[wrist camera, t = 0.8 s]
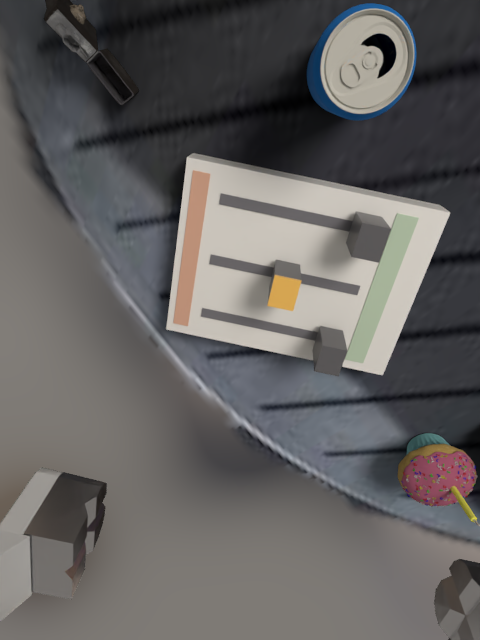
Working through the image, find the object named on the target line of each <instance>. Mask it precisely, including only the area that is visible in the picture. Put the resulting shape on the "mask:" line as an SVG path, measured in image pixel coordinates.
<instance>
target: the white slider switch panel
mask: <svg viewBox="0 0 480 640" xmlns="http://www.w3.org/2000/svg"><path fill="white" fill-rule="evenodd" d="M356 211H357V212H362V213H367V214H371V215H376V216H381V217H382V218H383V219H384V220H385V221H386V223H387V224H388V225H389V227H390V228H391V231H390V233H389V236H388V239H387V242H386V245H385V247H384V250H383V253H382V256H381V259H380V261H379V263H378V262H373V261H368V260H363V259H359V258H354V257H351V255H350V252H349V249H348V247H347V244H346V241H347V238H348V235H349V231H350V228H351V225H352V222H353V219H354V215H355V212H356ZM449 215H450V212H449V211H447V210H446V209H445V208H443V207H442V206H441V205H437V204H433V203H428V202H423V201H418V200H414V199H409V198H404V197H399V196H395V195H390V194H385V193H381V192H376V191H371V190H366V189H362V188H357V187H352V186H347V185H343V184H338V183H333V182H328V181H324V180H319V179H314V178H309V177H305V176H300V175H295V174H291V173H286V172H281V171H276V170H272V169H267V168H262V167H257V166H253V165H248V164H243V163H238V162H234V161H229V160H224V159H220V158H215V157H210V156H205V155H201V154H196V153H193V154H191V155H189V156H188V157H187V161H186V170H185V178H184V186H183V195H182V203H181V211H180V219H179V228H178V236H177V244H176V253H175V261H174V269H173V277H172V286H171V294H170V302H169V310H168V319H167V327H166V329H167V330H171V331H176V332H181V333H185V334H190V335H195V336H200V337H204V338H209V339H214V340H219V341H223V342H228V343H233V344H237V345H242V346H247V347H252V348H256V349H261V350H266V351H270V352H275V353H280V354H285V355H289V356H294V357H299V358H304V359H308V360H313V351H312V350H313V347H314V343H315V340H316V337H317V334H318V331H319V327H320V326H324V327H329V328H333V329H338V330H343V333H344V338H345V342H346V346H347V354H346V356H345V359H344V362H343V365H342V367H346V368H351V369H356V370H360V371H365V372H370V373H374V374H379V375H383V373H384V371H385V368H386V366H387V364H388V361H389V359H390V356H391V354H392V352H393V349H394V347H395V344H396V342H397V340H398V337H399V335H400V332H401V330H402V328H403V325H404V323H405V320H406V318H407V316H408V313H409V311H410V308H411V306H412V304H413V301H414V299H415V296H416V294H417V292H418V289H419V287H420V284H421V282H422V280H423V277H424V275H425V272H426V270H427V268H428V265H429V263H430V260H431V258H432V256H433V253H434V251H435V248H436V246H437V244H438V241H439V239H440V236H441V234H442V232H443V229H444V227H445V224H446V222H447V220H448V217H449ZM276 260H281V261H286V262H291V263H295V264H300V269H301V285H300V288H299V292H298V296H297V299H296V303H295V306H294V310H293V311H289V310H284V309H280V308H275V307H270V306H267V304H268V294H269V286H270V282H271V278H272V273H273V269H274V265H275V261H276Z"/></svg>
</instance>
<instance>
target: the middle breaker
mask: <svg viewBox="0 0 480 640" xmlns="http://www.w3.org/2000/svg"><path fill="white" fill-rule="evenodd" d="M300 285H301V269H300V264H295V263H291V262H286V261H281V260H276V261H275V265H274V269H273V273H272V278H271V282H270V286H269V294H268V304H267V306H270V307H275V308H280V309H284V310H289V311H293V310H294V306H295V303H296V299H297V296H298V292H299V288H300Z"/></svg>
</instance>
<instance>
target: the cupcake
mask: <svg viewBox="0 0 480 640" xmlns="http://www.w3.org/2000/svg"><path fill="white" fill-rule="evenodd" d="M475 469H476V466H474V463H473V461H472V460H471V459H470V457H469V456H468V455H467V454H466V453H465V452H464V451H463V450H460V449H457V448H455V447H453V446H450V445H449V444H448V443H447V442H446V441H445V440H444V439H443V438H442V437H441V436H439V435H436V434H432V433H425V434H421V435H418V436H416V437H414V438H413V439H412V440H411V441H410V442H409V443H408V446H407V455H406V456H405V457H404V459H402V461H401V462H400V463H399V466H398V480H399V482H400V484H401V486H402V488H403V489H404V491H405V492H406V493H407V495H409V496H408V497H411V498H413V499H414V500H416V501H417V502H419V503H421V504H424V505H430V506H444V507H445V505H451V504H453V503H454V504H455V503H456V502H459V503H460V505H461V507H462V508H463V510H464V511H465V513H466V514H467V516H468V517H469V519H470V520H471V522H475V523H476V524H477V525H478V526H480V524H478V522H477V521H476V520H477V518H476V516H475V515H474V513H473V512H472V510H471V509H470V507H469V506H468V504H467V503H466V501H465V500H464V498H465V497H467V495H469V492H471V491H472V490H473V486H474V485H475V483H476V478H477V475H476V470H475Z"/></svg>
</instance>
